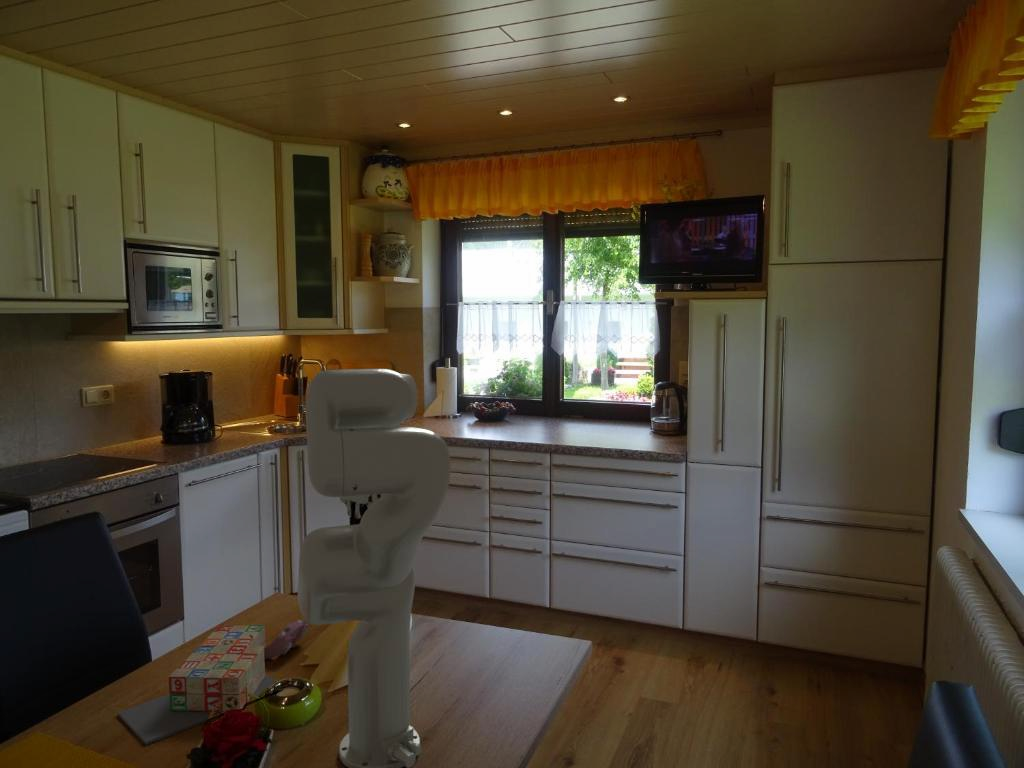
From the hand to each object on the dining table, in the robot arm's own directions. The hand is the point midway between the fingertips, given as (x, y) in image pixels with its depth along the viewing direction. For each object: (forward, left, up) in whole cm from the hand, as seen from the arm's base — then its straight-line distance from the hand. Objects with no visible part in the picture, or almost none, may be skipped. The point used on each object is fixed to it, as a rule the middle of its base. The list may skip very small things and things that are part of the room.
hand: (359, 536), depth 136 cm
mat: (+12, +25, -27) cm, 39 cm away
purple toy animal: (+20, +4, -27) cm, 34 cm away
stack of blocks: (+20, +23, -24) cm, 38 cm away
